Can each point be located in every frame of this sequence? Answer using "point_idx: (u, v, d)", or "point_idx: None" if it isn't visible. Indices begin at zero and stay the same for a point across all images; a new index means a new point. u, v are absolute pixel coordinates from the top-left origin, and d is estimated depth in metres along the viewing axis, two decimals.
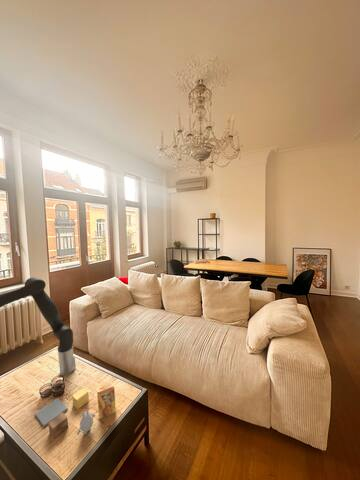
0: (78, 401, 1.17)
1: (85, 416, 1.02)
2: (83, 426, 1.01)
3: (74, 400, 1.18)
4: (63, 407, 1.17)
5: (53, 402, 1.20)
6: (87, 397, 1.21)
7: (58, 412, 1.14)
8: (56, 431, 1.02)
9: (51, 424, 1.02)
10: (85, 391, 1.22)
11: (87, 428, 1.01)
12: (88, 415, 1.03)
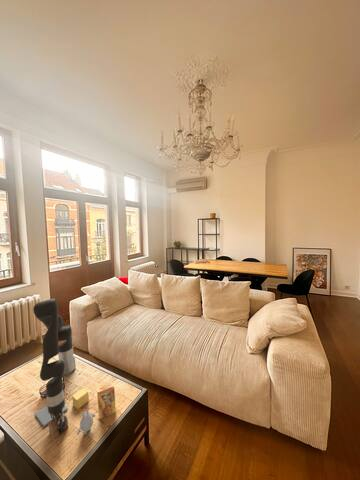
0: (78, 401, 1.17)
1: (85, 416, 1.02)
2: (83, 426, 1.01)
3: (74, 400, 1.18)
4: (63, 407, 1.17)
5: None
6: (87, 397, 1.21)
7: None
8: (56, 431, 1.02)
9: (51, 424, 1.02)
10: (85, 391, 1.22)
11: (87, 428, 1.01)
12: (88, 415, 1.03)
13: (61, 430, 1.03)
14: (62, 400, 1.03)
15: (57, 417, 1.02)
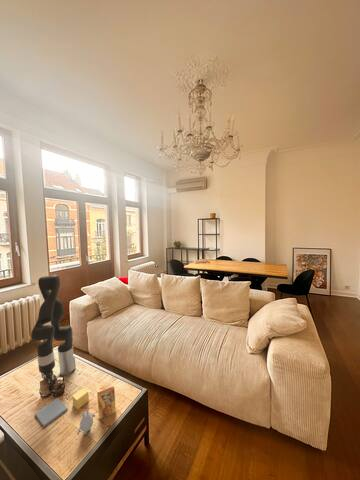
0: (78, 401, 1.17)
1: (85, 416, 1.02)
2: (83, 426, 1.01)
3: (74, 400, 1.18)
4: (63, 407, 1.17)
5: (53, 402, 1.20)
6: (87, 397, 1.21)
7: (58, 412, 1.14)
8: (47, 389, 1.10)
9: (42, 383, 1.11)
10: (85, 391, 1.22)
11: (87, 428, 1.01)
12: (88, 415, 1.03)
13: (51, 388, 1.11)
14: (52, 361, 1.11)
15: (47, 376, 1.10)
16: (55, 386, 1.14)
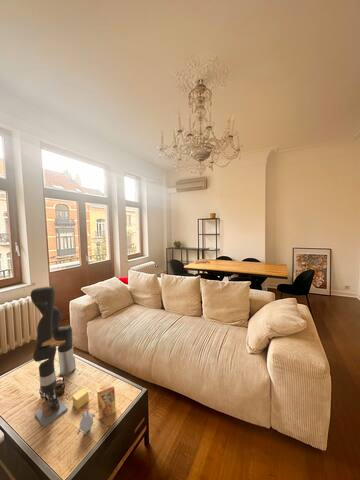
0: (78, 401, 1.17)
1: (85, 416, 1.02)
2: (83, 426, 1.01)
3: (74, 400, 1.18)
4: (63, 407, 1.17)
5: None
6: (87, 397, 1.21)
7: (58, 412, 1.14)
8: (49, 411, 1.12)
9: (44, 404, 1.12)
10: (85, 391, 1.22)
11: (87, 428, 1.01)
12: (88, 415, 1.03)
13: (54, 408, 1.11)
14: (54, 380, 1.12)
15: (49, 396, 1.11)
16: (56, 407, 1.15)
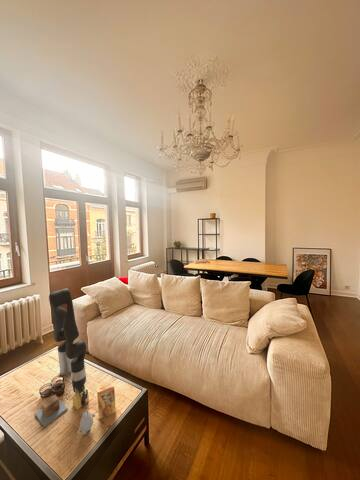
0: (78, 401, 1.17)
1: (85, 416, 1.02)
2: (83, 426, 1.01)
3: (74, 400, 1.18)
4: (63, 407, 1.17)
5: None
6: (87, 397, 1.21)
7: (58, 412, 1.14)
8: (49, 411, 1.12)
9: (44, 404, 1.12)
10: None
11: (87, 428, 1.01)
12: (88, 415, 1.03)
13: (83, 402, 1.18)
14: (84, 376, 1.19)
15: (80, 390, 1.17)
16: (56, 407, 1.15)
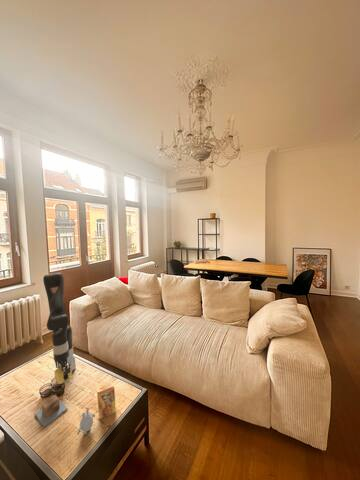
0: (60, 376, 1.12)
1: (85, 416, 1.02)
2: (83, 426, 1.01)
3: (56, 375, 1.13)
4: (63, 407, 1.17)
5: None
6: (70, 372, 1.17)
7: (58, 412, 1.14)
8: (49, 411, 1.12)
9: (44, 404, 1.12)
10: None
11: (87, 428, 1.01)
12: (88, 415, 1.03)
13: (66, 377, 1.14)
14: (67, 350, 1.14)
15: (62, 365, 1.12)
16: (56, 407, 1.15)
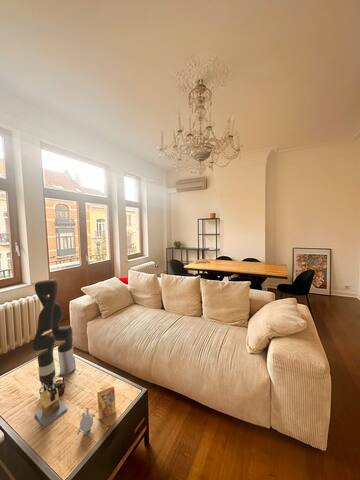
0: (46, 399, 1.10)
1: (85, 416, 1.02)
2: (83, 426, 1.01)
3: (42, 398, 1.11)
4: (63, 407, 1.17)
5: None
6: (57, 395, 1.15)
7: (58, 412, 1.14)
8: (49, 411, 1.12)
9: None
10: None
11: (87, 428, 1.01)
12: (88, 415, 1.03)
13: (53, 398, 1.11)
14: (53, 370, 1.12)
15: (48, 386, 1.10)
16: (56, 407, 1.15)
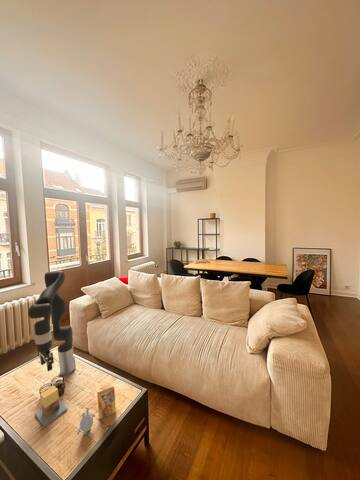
0: (46, 399, 1.10)
1: (85, 416, 1.02)
2: (83, 426, 1.01)
3: (42, 398, 1.11)
4: (63, 407, 1.17)
5: None
6: (57, 395, 1.15)
7: (58, 412, 1.14)
8: (49, 411, 1.12)
9: None
10: (55, 389, 1.15)
11: (87, 428, 1.01)
12: (88, 415, 1.03)
13: (49, 367, 1.09)
14: (49, 340, 1.10)
15: (45, 355, 1.09)
16: (56, 407, 1.15)
